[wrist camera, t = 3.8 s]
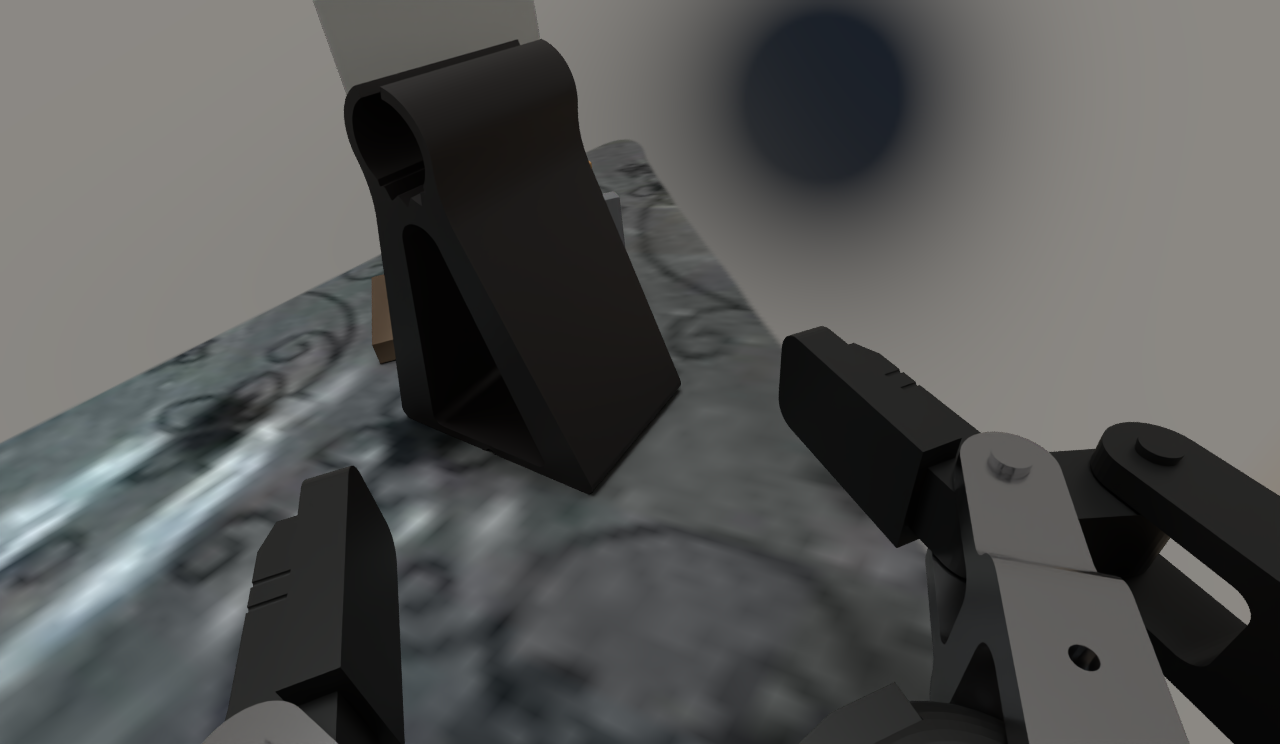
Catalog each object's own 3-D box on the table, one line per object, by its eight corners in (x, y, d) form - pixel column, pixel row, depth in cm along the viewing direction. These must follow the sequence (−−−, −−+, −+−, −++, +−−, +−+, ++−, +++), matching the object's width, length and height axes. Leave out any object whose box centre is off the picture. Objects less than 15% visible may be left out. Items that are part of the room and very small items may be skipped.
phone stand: (405, 416, 23) (259, 81, 16) (508, 337, 27) (428, 39, 20) (592, 498, 19) (508, 93, 12) (682, 390, 23) (660, 37, 16)
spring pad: (428, 322, 26) (311, -4, 19) (427, 313, 27) (313, -5, 19) (627, 271, 28) (592, -39, 21) (622, 264, 29) (586, -39, 21)
